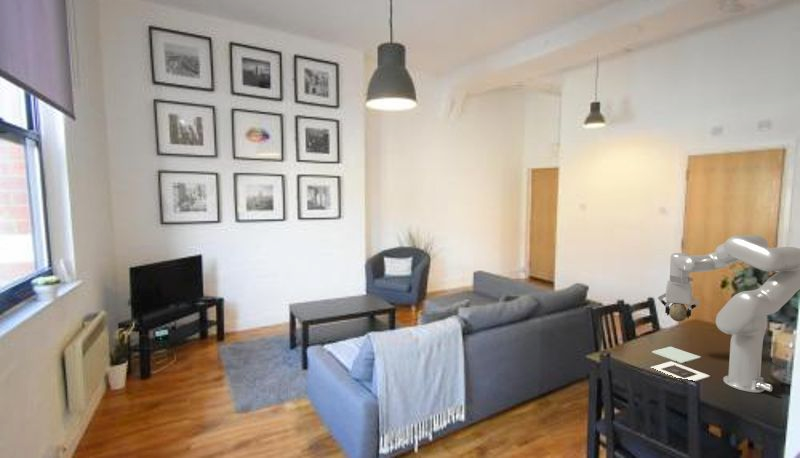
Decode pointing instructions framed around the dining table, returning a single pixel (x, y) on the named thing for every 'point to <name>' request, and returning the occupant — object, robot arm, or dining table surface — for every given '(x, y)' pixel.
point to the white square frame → (670, 364)
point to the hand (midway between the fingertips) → (677, 315)
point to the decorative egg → (678, 312)
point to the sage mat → (676, 354)
